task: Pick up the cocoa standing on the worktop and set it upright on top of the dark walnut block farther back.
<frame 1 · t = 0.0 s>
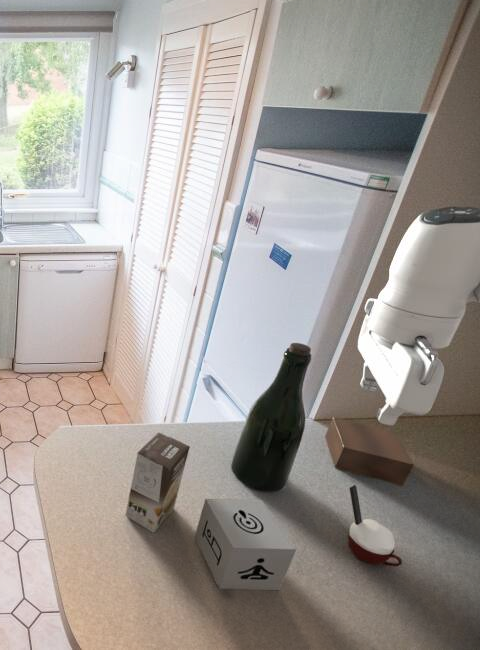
hand: (375, 404, 70), 33 cm above the countertop, tool pointing down, fingers open, 8 cm apart
walnut block: (361, 459, 105), on the countertop
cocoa: (361, 552, 83), on the countertop
beer bottle: (256, 476, 101), on the countertop
icon cube: (234, 563, 82), on the countertop
coffee box: (149, 512, 92), on the countertop
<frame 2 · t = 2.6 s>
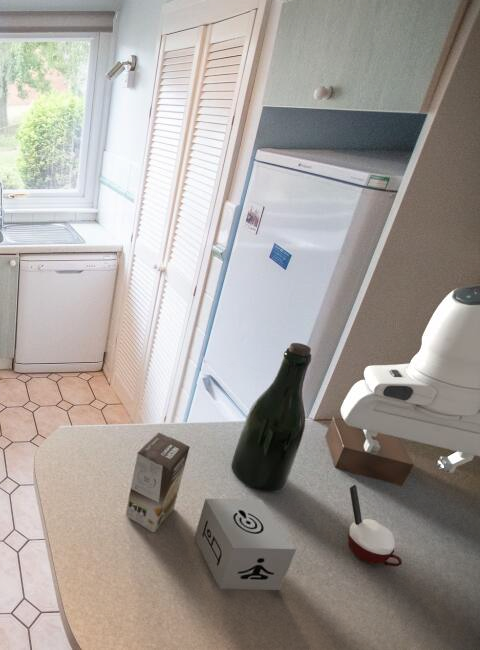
hand: (405, 459, 74), 22 cm above the countertop, tool pointing down, fingers open, 8 cm apart
nothing on the countertop moved.
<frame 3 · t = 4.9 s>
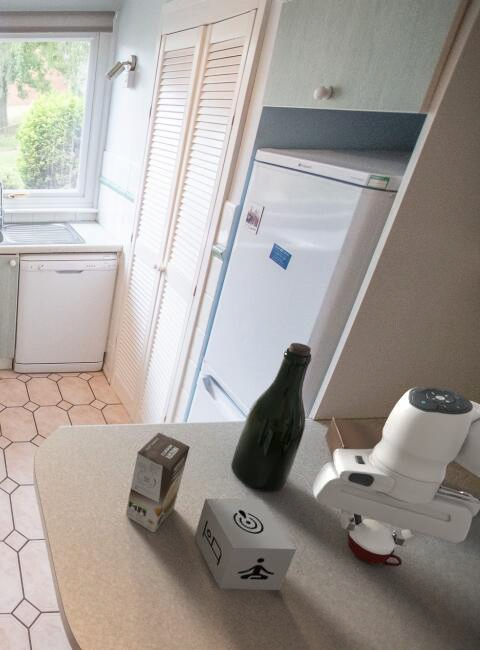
hand: (371, 534, 81), 5 cm above the countertop, tool pointing down, fingers closed on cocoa, 6 cm apart
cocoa: (361, 552, 83), on the countertop, touching gripper
everything else where it was.
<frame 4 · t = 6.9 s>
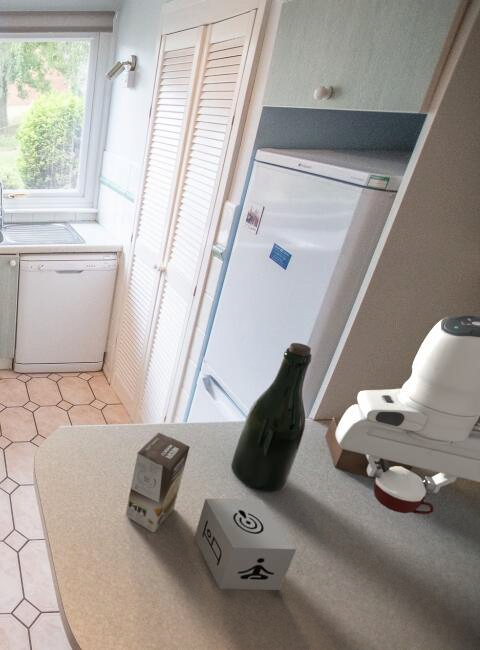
hand: (399, 481, 76), 17 cm above the countertop, tool pointing down, fingers closed on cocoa, 6 cm apart
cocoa: (388, 503, 78), point 12 cm above the countertop, touching gripper
everything else where it was.
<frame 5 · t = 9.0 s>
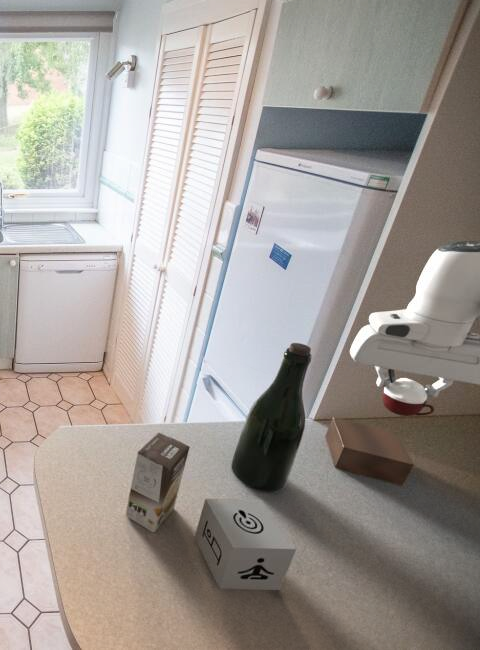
hand: (404, 390, 89), 24 cm above the countertop, tool pointing down, fingers closed on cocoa, 6 cm apart
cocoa: (395, 410, 91), point 19 cm above the countertop, touching gripper
everything else where it was.
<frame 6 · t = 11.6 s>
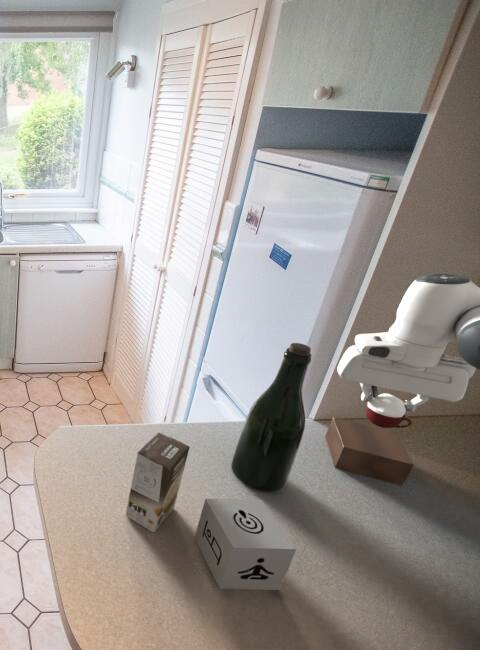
hand: (386, 404, 99), 15 cm above the countertop, tool pointing down, fingers closed on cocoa, 6 cm apart
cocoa: (377, 422, 101), point 11 cm above the countertop, touching gripper
everything else where it was.
when the fingers open (10 cm above the countertop, at t = 13.4 s): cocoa stays where it is, resting on walnut block.
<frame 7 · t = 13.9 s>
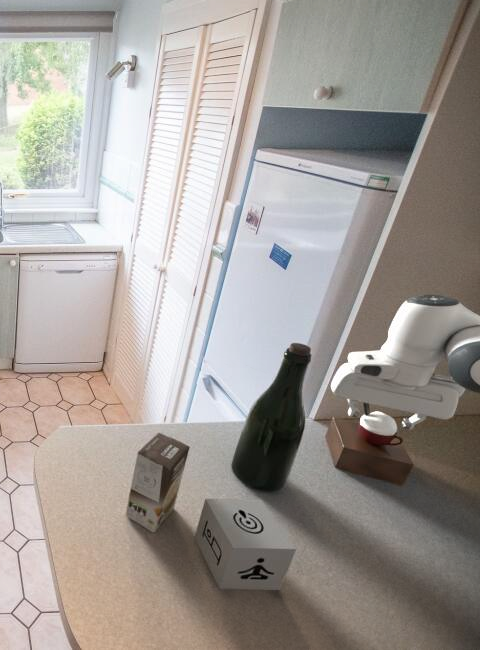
hand: (378, 421, 101), 11 cm above the countertop, tool pointing down, fingers open, 8 cm apart
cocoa: (369, 439, 103), point 6 cm above the countertop, touching walnut block
everything else where it was.
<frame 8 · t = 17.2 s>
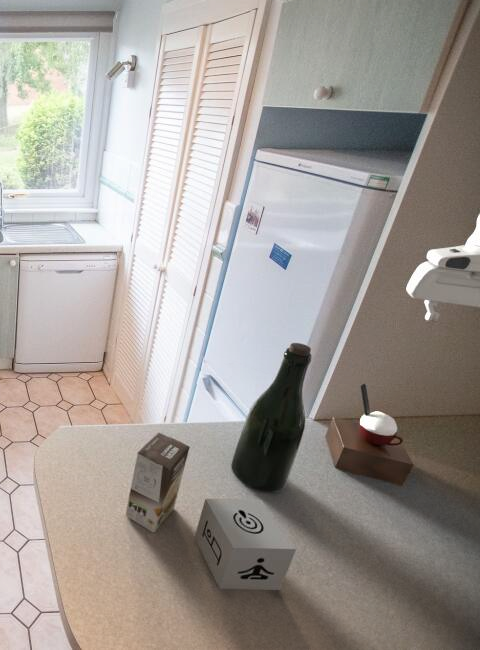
hand: (460, 324, 93), 34 cm above the countertop, tool pointing down, fingers open, 8 cm apart
nothing on the countertop moved.
at the end: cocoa inside the target area on the walnut block (0.1 cm from its centre), point 5.8 cm above the walnut block's base; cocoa tilted 0°; the gripper is holding nothing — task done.
